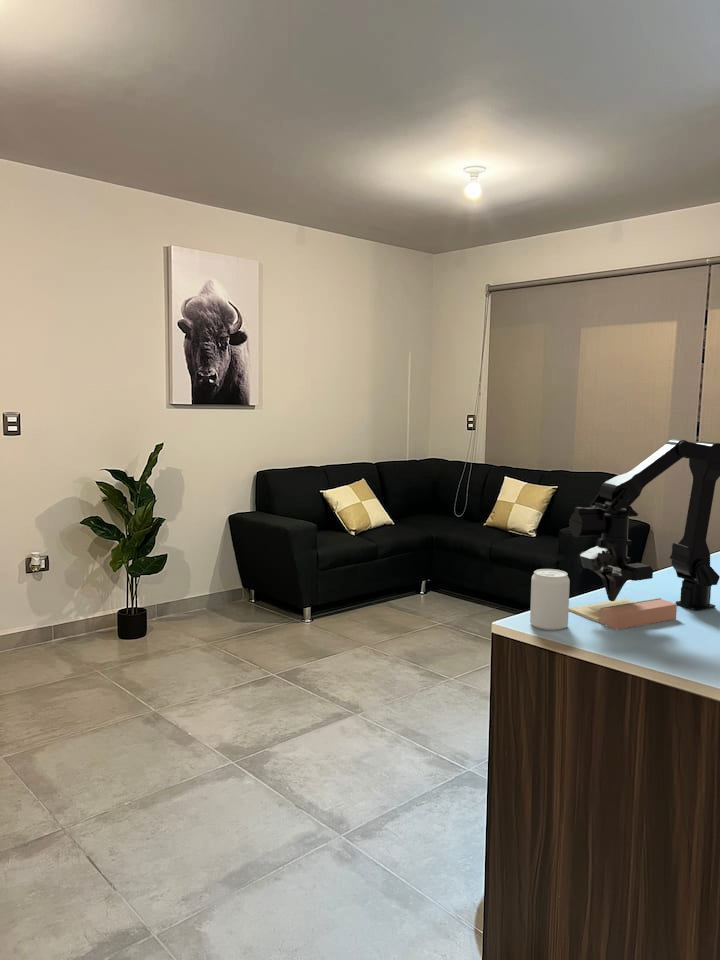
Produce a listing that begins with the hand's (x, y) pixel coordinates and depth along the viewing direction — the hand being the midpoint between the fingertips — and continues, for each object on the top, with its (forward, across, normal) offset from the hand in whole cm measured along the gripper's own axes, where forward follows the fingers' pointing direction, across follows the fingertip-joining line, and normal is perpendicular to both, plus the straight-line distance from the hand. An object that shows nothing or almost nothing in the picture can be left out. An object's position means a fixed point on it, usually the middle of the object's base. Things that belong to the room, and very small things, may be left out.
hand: (611, 600), depth 172 cm
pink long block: (+3, +8, 0) cm, 8 cm away
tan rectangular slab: (+3, 0, 0) cm, 3 cm away
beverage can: (+3, +2, -20) cm, 20 cm away
